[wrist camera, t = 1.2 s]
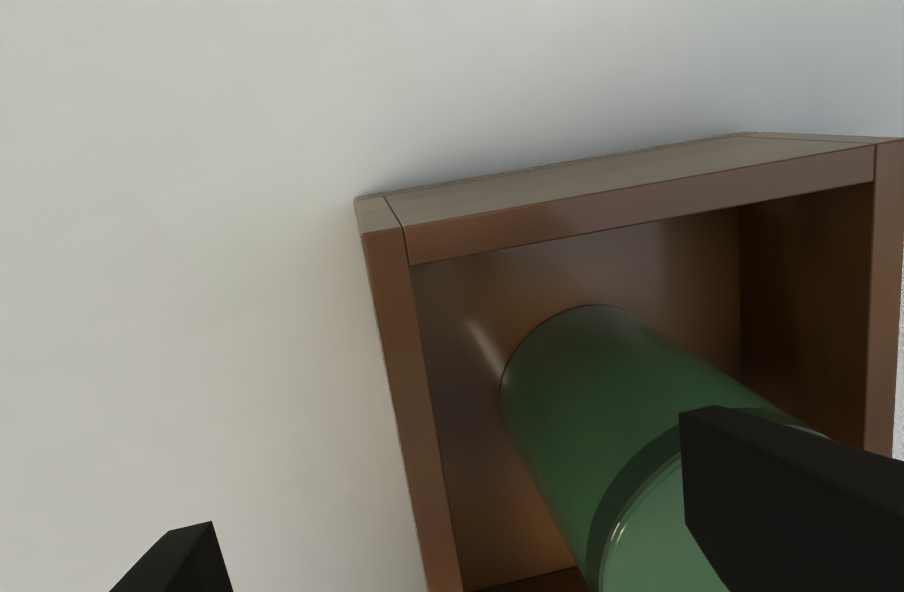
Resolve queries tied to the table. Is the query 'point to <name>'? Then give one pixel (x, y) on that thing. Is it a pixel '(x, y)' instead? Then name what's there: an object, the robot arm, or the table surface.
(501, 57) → the table surface
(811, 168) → the box
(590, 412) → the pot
